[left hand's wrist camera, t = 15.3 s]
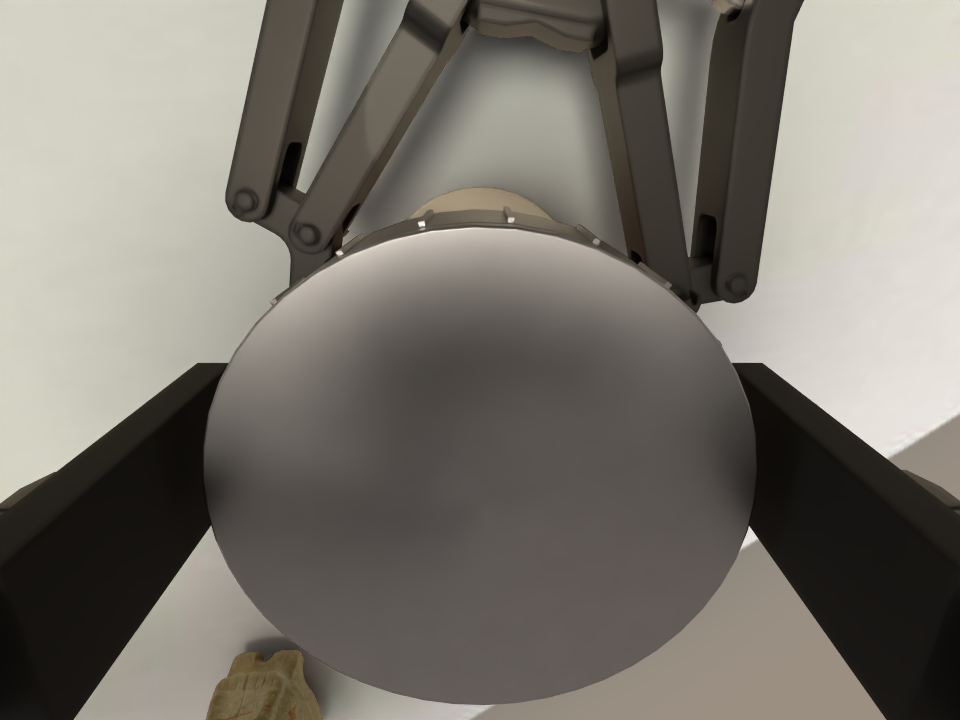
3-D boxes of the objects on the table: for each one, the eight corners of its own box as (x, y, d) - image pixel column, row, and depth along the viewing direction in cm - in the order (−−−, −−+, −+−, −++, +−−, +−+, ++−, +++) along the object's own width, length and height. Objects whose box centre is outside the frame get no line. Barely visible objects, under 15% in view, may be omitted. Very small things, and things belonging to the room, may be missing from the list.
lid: (624, 651, 14) (650, 742, 12) (227, 575, 13) (178, 658, 11) (789, 277, 11) (864, 309, 9) (277, 146, 10) (221, 147, 8)
